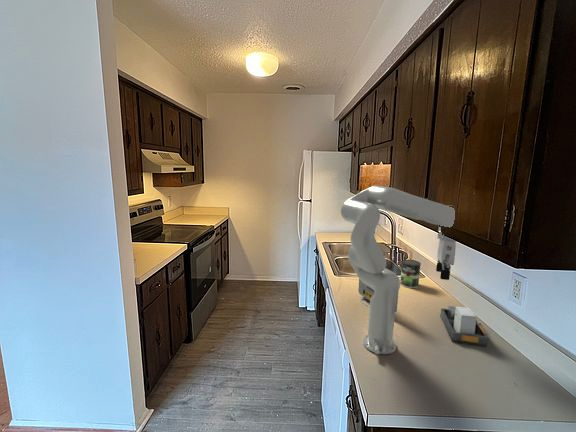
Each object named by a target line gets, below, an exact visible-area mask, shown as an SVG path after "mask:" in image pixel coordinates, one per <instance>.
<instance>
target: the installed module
mask: <svg viewBox="0 0 576 432" xmlns="http://www.w3.org/2000/svg"><path fill="white" fill-rule="evenodd" d="M456 307H457V306H452V305H451V306H450V305H448V307H447V309H448V314H447V318H448V319H449V320H454V318H455V309H456Z"/></svg>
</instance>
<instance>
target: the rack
mask: <svg viewBox="0 0 576 432" xmlns="http://www.w3.org/2000/svg"><path fill="white" fill-rule="evenodd" d="M439 314H440V319H441V321H442V323H443V325H444V327H445V329H446V331H447V335H448V336H449V339H450V341H451V342H453V343H458V344H459V343H460V344H465V345H472V346H478V347H485V348H487V347H488V341H489V337H488V336H487V333H486V331H485V330H484V328H483V327H482V326H481V325H480V324H479V322H478V320H477V319H476V325H475V333H474V335H472V334H465V333H458V332H455V330H454V329H453V327H454V320H449V319H448V318H447V314H448V308H440V313H439Z"/></svg>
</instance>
